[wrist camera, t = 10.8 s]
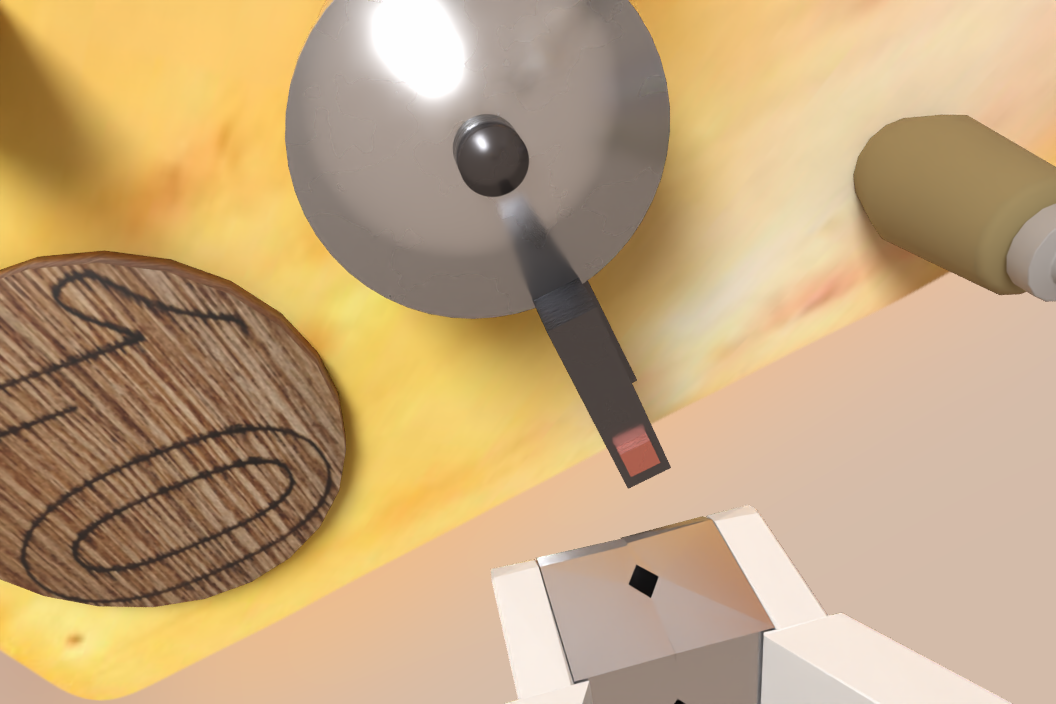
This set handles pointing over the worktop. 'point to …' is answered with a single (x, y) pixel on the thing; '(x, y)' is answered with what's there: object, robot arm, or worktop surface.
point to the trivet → (155, 431)
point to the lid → (488, 167)
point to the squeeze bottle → (963, 201)
